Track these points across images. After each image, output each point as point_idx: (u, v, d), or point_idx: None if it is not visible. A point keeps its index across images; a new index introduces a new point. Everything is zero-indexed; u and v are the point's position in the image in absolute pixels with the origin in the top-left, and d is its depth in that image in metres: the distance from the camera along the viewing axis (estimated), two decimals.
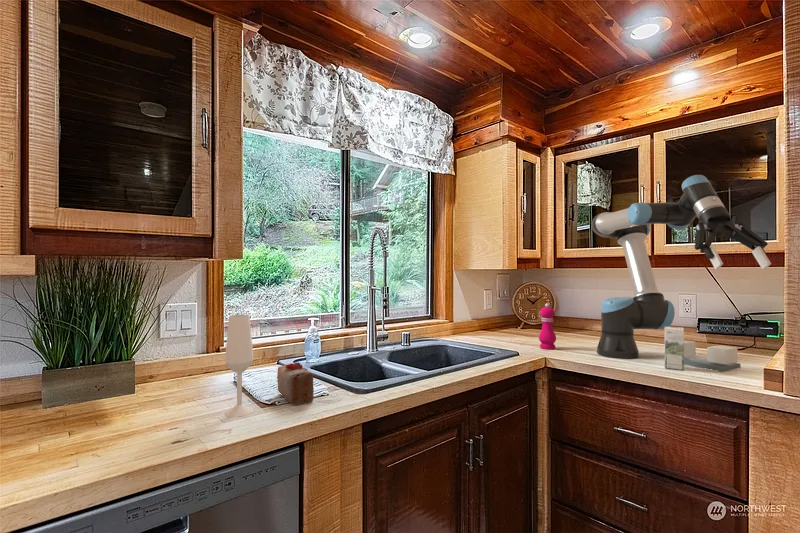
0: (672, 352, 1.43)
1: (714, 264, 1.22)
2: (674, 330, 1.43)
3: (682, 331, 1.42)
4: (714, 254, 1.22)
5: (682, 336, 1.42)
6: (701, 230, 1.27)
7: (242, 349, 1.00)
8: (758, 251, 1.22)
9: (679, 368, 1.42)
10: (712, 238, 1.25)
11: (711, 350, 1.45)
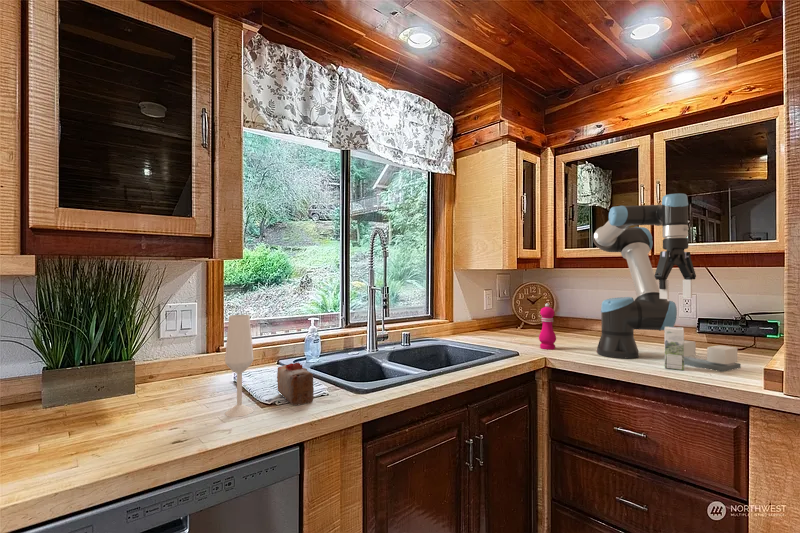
0: (672, 352, 1.43)
1: (661, 294, 1.42)
2: (674, 330, 1.43)
3: (682, 331, 1.42)
4: (666, 288, 1.40)
5: (682, 336, 1.42)
6: (666, 261, 1.40)
7: (242, 349, 1.00)
8: (688, 283, 1.47)
9: (679, 368, 1.42)
10: (670, 270, 1.41)
11: (711, 350, 1.45)
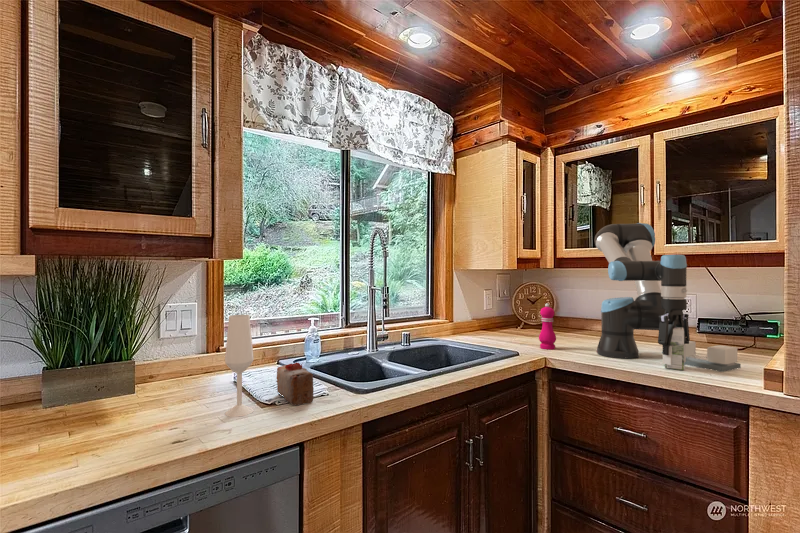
0: (672, 352, 1.43)
1: (664, 360, 1.44)
2: (674, 330, 1.43)
3: (682, 331, 1.42)
4: (669, 354, 1.42)
5: (682, 336, 1.42)
6: (666, 326, 1.41)
7: (242, 349, 1.00)
8: None
9: (679, 368, 1.42)
10: (671, 334, 1.43)
11: (711, 350, 1.45)
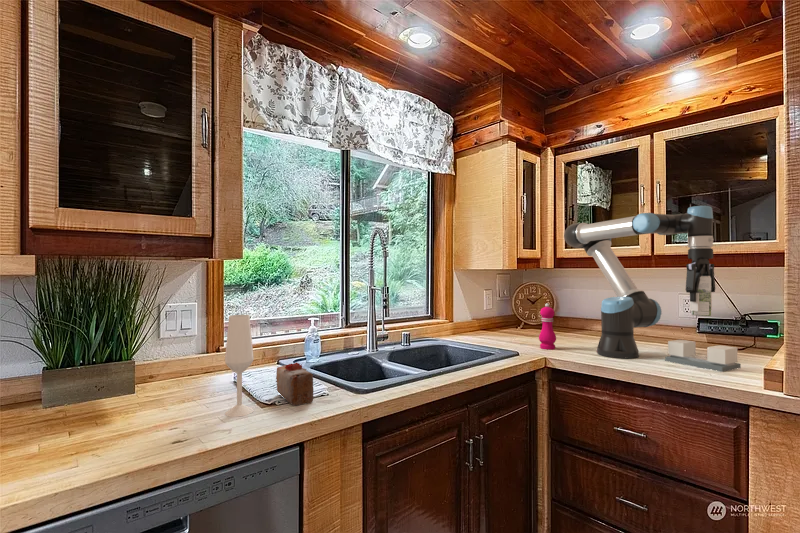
0: (699, 299, 1.49)
1: (691, 307, 1.50)
2: (701, 278, 1.49)
3: (709, 278, 1.47)
4: (696, 300, 1.48)
5: (709, 283, 1.47)
6: (694, 274, 1.47)
7: (242, 349, 1.00)
8: None
9: (706, 314, 1.48)
10: (698, 282, 1.49)
11: (711, 350, 1.45)
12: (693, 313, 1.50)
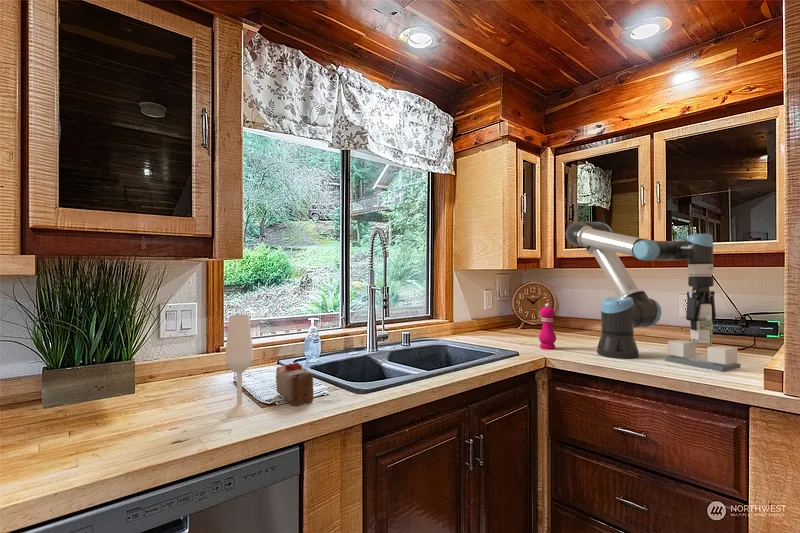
0: None
1: (692, 335, 1.50)
2: (702, 306, 1.49)
3: (710, 307, 1.47)
4: (697, 329, 1.48)
5: (710, 311, 1.47)
6: (694, 302, 1.47)
7: (242, 349, 1.00)
8: None
9: (707, 342, 1.48)
10: (699, 310, 1.48)
11: (711, 350, 1.45)
12: (694, 341, 1.50)
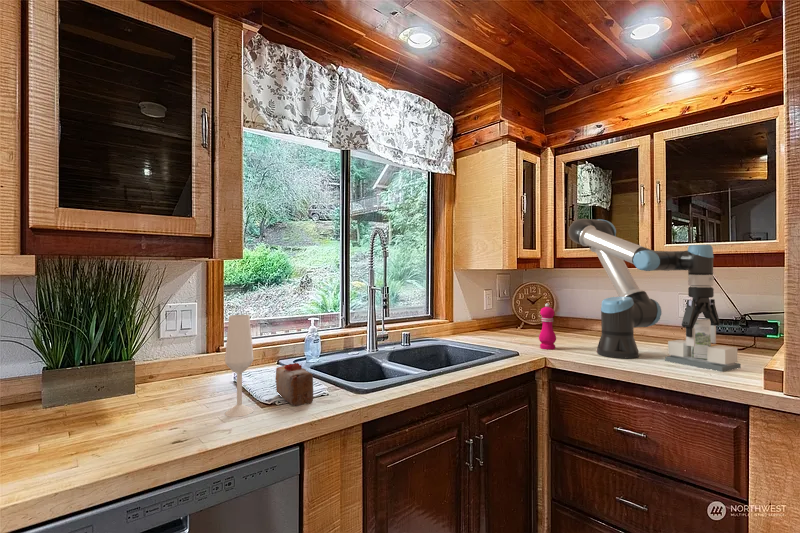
0: (698, 342, 1.49)
1: (687, 342, 1.49)
2: (701, 321, 1.49)
3: (709, 322, 1.47)
4: (693, 336, 1.47)
5: (709, 327, 1.47)
6: (693, 310, 1.47)
7: (242, 349, 1.00)
8: (712, 329, 1.53)
9: (706, 358, 1.48)
10: (696, 318, 1.48)
11: (711, 350, 1.45)
12: (693, 356, 1.50)
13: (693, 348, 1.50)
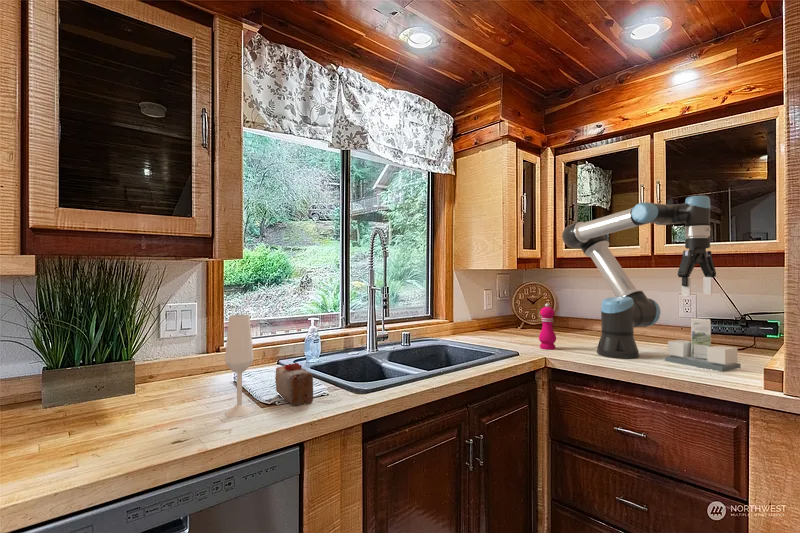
0: (698, 342, 1.49)
1: (683, 291, 1.50)
2: (701, 321, 1.49)
3: (709, 322, 1.47)
4: (688, 285, 1.49)
5: (709, 327, 1.47)
6: (689, 259, 1.49)
7: (242, 349, 1.00)
8: (709, 280, 1.55)
9: (706, 358, 1.48)
10: (692, 268, 1.49)
11: (711, 350, 1.45)
12: (693, 356, 1.50)
13: (693, 348, 1.50)
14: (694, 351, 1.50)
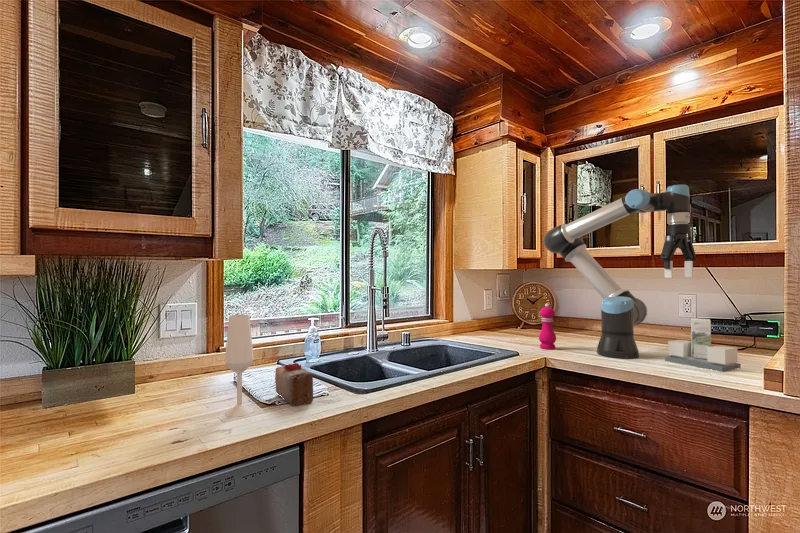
0: (698, 342, 1.49)
1: (666, 274, 1.61)
2: (701, 321, 1.49)
3: (709, 322, 1.47)
4: (670, 268, 1.60)
5: (709, 327, 1.47)
6: (670, 244, 1.60)
7: (242, 349, 1.00)
8: (689, 264, 1.66)
9: (706, 358, 1.48)
10: (673, 252, 1.60)
11: (711, 350, 1.45)
12: (693, 356, 1.50)
13: (693, 348, 1.50)
14: (694, 351, 1.50)
